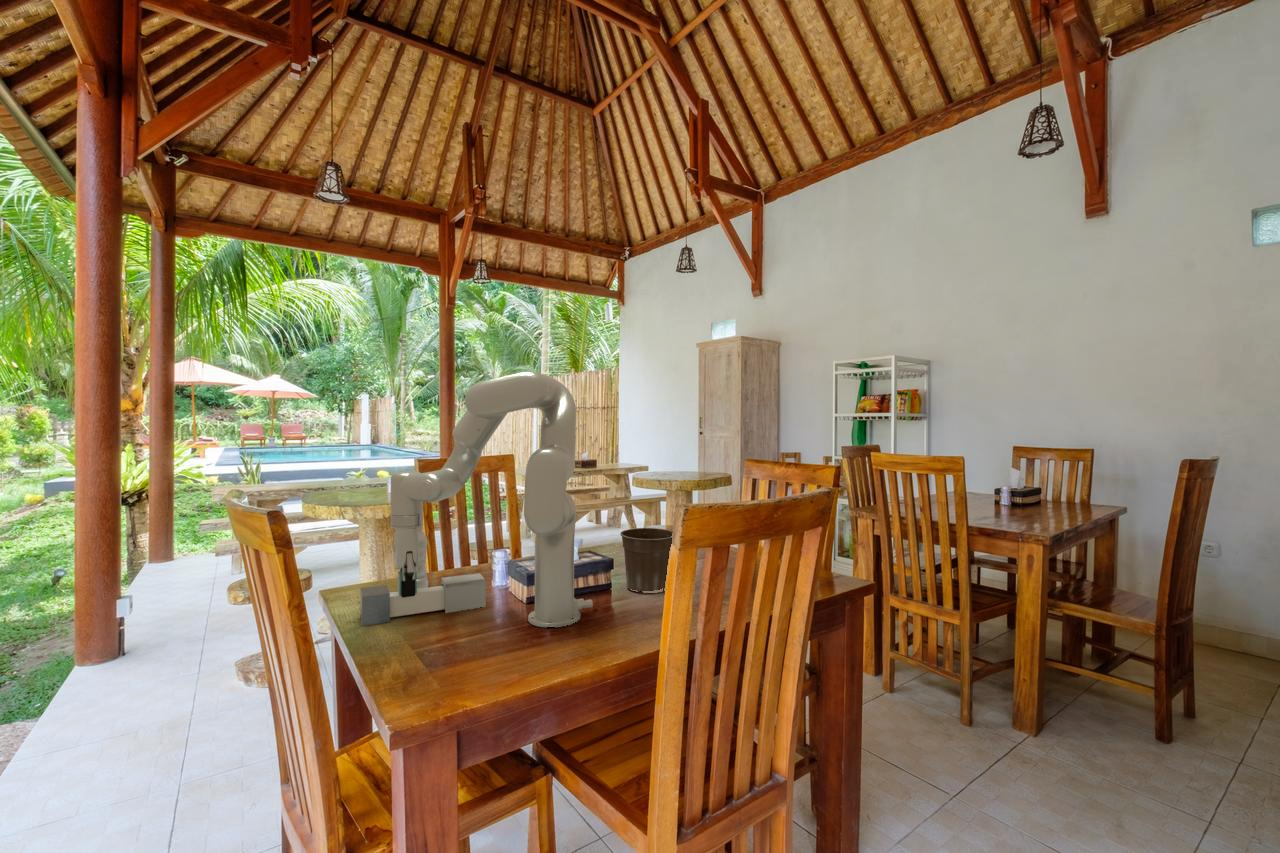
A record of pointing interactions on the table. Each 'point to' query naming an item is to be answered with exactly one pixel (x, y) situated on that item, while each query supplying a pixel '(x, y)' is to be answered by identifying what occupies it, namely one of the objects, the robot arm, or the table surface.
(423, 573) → the plastic bottle
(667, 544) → the plant pot
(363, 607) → the socket block
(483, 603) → the gray rectangular block
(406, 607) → the long white box
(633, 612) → the table surface
